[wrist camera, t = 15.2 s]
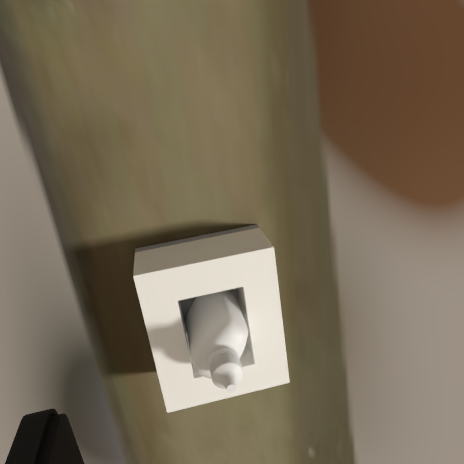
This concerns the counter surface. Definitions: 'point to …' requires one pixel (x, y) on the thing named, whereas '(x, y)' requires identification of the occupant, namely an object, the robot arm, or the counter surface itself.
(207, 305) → the eye dropper bottle
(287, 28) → the counter surface
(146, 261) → the keyed holder
